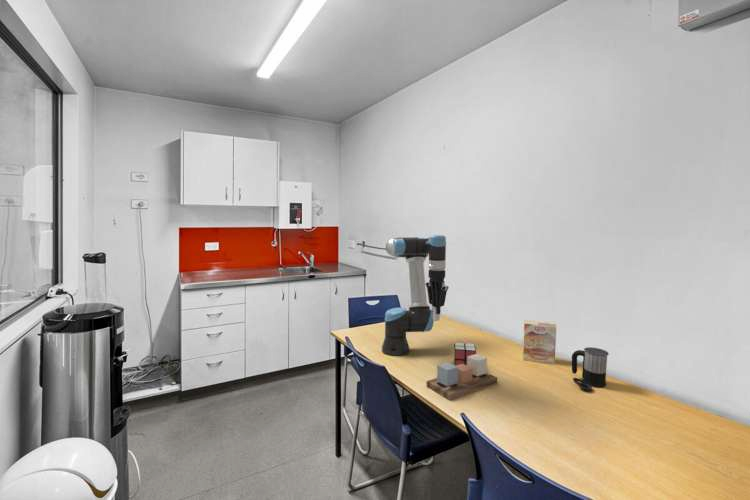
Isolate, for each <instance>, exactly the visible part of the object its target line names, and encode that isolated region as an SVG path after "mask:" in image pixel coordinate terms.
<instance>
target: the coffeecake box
mask: <svg viewBox="0 0 750 500" xmlns="http://www.w3.org/2000/svg"><path fill="white" fill-rule="evenodd" d="M522 341H523V343H522V344H523V345H522V360H523V361H529V362H536V363H543V364H549V365H551V364H552V365H555V363H556V347H557V346H556V343H557V324H556V322H548V321H547V322H546V321H536V320H527V319H524V321H523V340H522Z"/></svg>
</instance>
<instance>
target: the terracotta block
mask: <svg viewBox="0 0 750 500" xmlns="http://www.w3.org/2000/svg"><path fill="white" fill-rule="evenodd" d="M456 366H457V367H458V382H459V383H461V384H465V383H468V382H471V381H472V377H474V376H473V368H471V367H469V366H467V365H465V364H459V365H456Z"/></svg>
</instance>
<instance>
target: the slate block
mask: <svg viewBox="0 0 750 500" xmlns="http://www.w3.org/2000/svg"><path fill="white" fill-rule="evenodd" d="M436 372H437V373H436V374H437V376H436V378H437V381H438V382H440V383H442V384H443V385H445V386H444V387H451V386H450V385H453V384H456V383H458V367H457V366H455V365H454V363H453V364H452V363H450V362H448V361H447V362H443V363H441V364H437V369H436Z"/></svg>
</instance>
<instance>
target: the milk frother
mask: <svg viewBox="0 0 750 500" xmlns="http://www.w3.org/2000/svg"><path fill="white" fill-rule="evenodd" d="M609 354H610V353H609V352H608V351H607V350H604V349H602V348H598V347H590V346H589V347H585V348H583V350H580V349H579V350H575V351H574V352H573V353H572V355H571V372H572V374H577V372H578V357H579V356H581V357H583V359H582V374H581V377H582V378H577V377H573V378H572V381H573V382H574V383H575V384H576V385H577V386H578V387H580V388H581V389H583V390H584V391H588V392H591V391H592V390H593V387H594V388H604V387H606V386H607V384H606V381H607V379H606V377H607V367H608V366H607V364H608V356H609Z"/></svg>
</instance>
